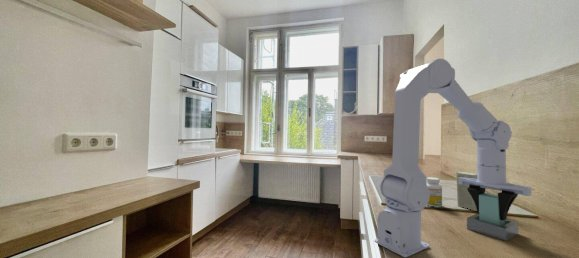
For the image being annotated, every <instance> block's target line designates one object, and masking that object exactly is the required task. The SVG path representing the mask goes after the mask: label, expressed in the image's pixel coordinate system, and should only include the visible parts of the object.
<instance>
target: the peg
mask: <svg viewBox="0 0 579 258" xmlns="http://www.w3.org/2000/svg"><path fill="white" fill-rule="evenodd" d="M499 214H500V205H499V198H498V194H493V193H488V192H485V193H483V194H480V195H479V220H481V221H484V222H488V223H492V224H495V225H499V226H504V225H505V220H504V221H503V220H500V215H499Z"/></svg>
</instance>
